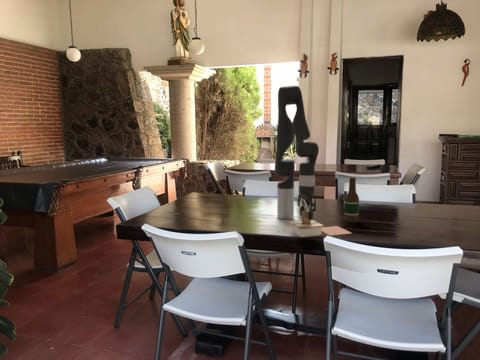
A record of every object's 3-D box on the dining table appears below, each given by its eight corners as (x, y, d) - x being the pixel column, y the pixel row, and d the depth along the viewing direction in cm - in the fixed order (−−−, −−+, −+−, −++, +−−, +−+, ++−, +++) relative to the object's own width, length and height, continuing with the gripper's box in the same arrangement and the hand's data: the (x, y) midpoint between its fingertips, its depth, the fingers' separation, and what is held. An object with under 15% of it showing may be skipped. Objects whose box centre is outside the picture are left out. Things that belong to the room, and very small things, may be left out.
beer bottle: (356, 219, 212) (357, 176, 209) (360, 223, 204) (362, 178, 201) (342, 219, 212) (343, 176, 208) (346, 223, 204) (347, 178, 201)
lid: (289, 223, 189) (289, 209, 188) (311, 221, 192) (311, 207, 191) (300, 229, 177) (300, 214, 176) (323, 226, 181) (323, 212, 180)
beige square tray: (291, 232, 189) (291, 223, 188) (310, 230, 192) (311, 221, 191) (300, 238, 179) (301, 228, 178) (321, 236, 182) (321, 226, 181)
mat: (315, 228, 194) (316, 228, 194) (336, 226, 198) (336, 226, 198) (330, 236, 181) (330, 235, 181) (352, 233, 184) (352, 233, 184)
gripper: (293, 182, 187) (292, 215, 190) (306, 187, 174) (305, 221, 176) (307, 181, 190) (306, 213, 192) (321, 186, 176) (320, 220, 178)
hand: (306, 217), depth 184 cm, fingers open, 8 cm apart
